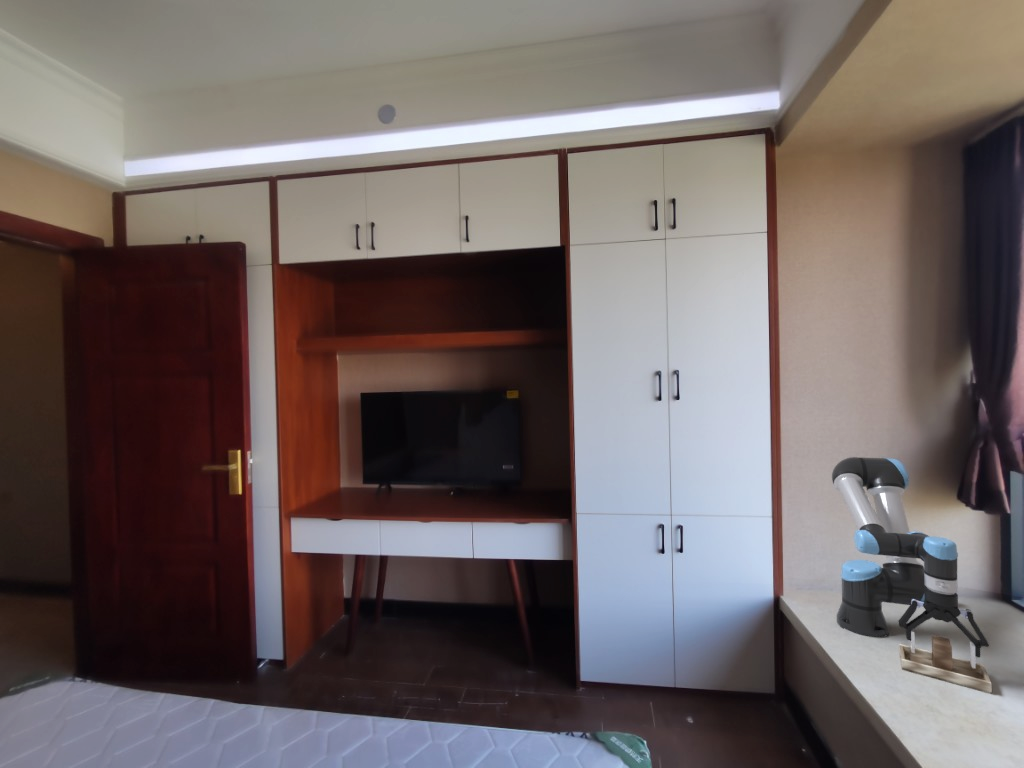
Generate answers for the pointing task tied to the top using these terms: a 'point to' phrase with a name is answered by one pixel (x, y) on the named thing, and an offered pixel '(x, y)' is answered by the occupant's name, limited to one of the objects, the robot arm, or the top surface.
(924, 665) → the open wooden box
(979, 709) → the top surface
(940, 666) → the tan wooden block
